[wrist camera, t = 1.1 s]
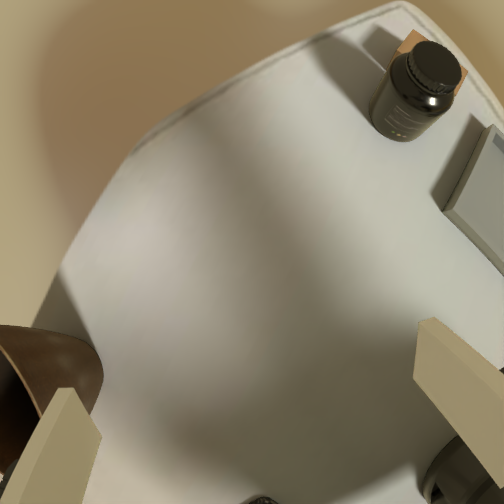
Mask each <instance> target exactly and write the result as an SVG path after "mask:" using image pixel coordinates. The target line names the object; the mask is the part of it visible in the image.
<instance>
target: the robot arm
mask: <svg viewBox="0 0 504 504" xmlns="http://www.w3.org/2000/svg"><path fill="white" fill-rule="evenodd" d="M413 379H414V380H415V382H416V383H417V384H418V385H419V386H420V388H421V389H422V390H423V391H424V392H425V394H426V395H427V396H428V397H429V399H430V400H431V401H432V402H433V403H434V405H435V406H436V407H437V408H438V410H439V411H440V412H441V413H442V414H443V416H444V417H445V418H446V419H447V421H448V422H449V423H450V424H451V426H452V427H453V428H454V429H455V431H456V432H457V433H458V434H459V435H458V436H457V437H456V438H455V439H453V440H452V441H451V442H450V443H449V444H448V445H447V446H446V447H445V448H444V449H443V450H442V451H441V453H440V454H439V455H438V456H437V457H436V459H435V460H434V462H433V463H432V465H431V466H430V468H429V470H428V472H427V474H426V476H425V479H424V482H423V495H424V498H425V499H426V501H427V503H428V504H504V367H503V368H502V369H500V370H498V369H497V368H496V367H495V366H493V365H492V364H491V363H490V362H489V361H488V360H486V359H485V358H484V357H483V356H482V355H481V354H479V353H478V352H477V351H476V350H475V349H473V348H472V347H471V346H470V345H469V344H467V343H466V342H465V341H464V340H463V339H461V338H460V337H459V336H458V335H456V334H455V333H454V332H453V331H451V330H450V329H449V328H448V327H447V326H445V325H444V324H443V323H442V322H440V321H439V320H438V319H436V318H435V317H432V318H430V319H427V320H424V321H421V322H419V323H418V336H417V346H416V356H415V364H414V372H413ZM101 439H102V436H101V434H100V432H99V431H98V429H97V428H96V426H95V424H94V423H93V421H92V419H91V418H90V416H89V414H88V413H87V411H86V409H85V407H84V406H83V404H82V402H81V400H80V399H79V397H78V395H77V393H76V391H75V389H74V388H58V389H57V391H56V393H55V395H54V396H53V398H52V400H51V402H50V403H49V405H48V407H47V409H46V410H45V412H44V414H43V416H42V417H41V419H40V421H39V423H38V425H37V427H36V428H35V430H34V432H33V434H32V436H31V438H30V440H29V442H28V443H27V445H26V447H25V449H24V451H23V453H22V455H21V457H20V459H16V460H15V461H14V462H13V463H12V464H11V465H10V466H9V467H8V468H7V470H6V472H5V474H4V476H3V478H2V479H3V481H2V480H1V482H0V504H82V501H83V497H84V494H85V490H86V487H87V484H88V480H89V477H90V474H91V470H92V467H93V464H94V461H95V458H96V454H97V451H98V448H99V445H100V442H101Z"/></svg>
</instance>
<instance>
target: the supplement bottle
mask: <svg viewBox="0 0 504 504" xmlns="http://www.w3.org/2000/svg"><path fill="white" fill-rule="evenodd" d="M461 78H462V71H461V67H460V64H459V62H458V60H457V59H456V58H455V56H454V55H453V54H452V53H451V52H450V51H449V50H448V49H447V48H445V47H443V46H442V45H440V44H438V43H436V42H433V41H428V40H427V41H422V42H421V41H420V42H419V43H416V45H415V46H414V47H413V48H412V50H411V51H410V52H405V53H402V54H400V55H398V56H396V57H395V58H394V59H393V60H392V62H391V63H390V65H389V67H388V69H387V70H386V72H385V74H384V76H383V78H382V79H381V81H380V83H379V85H378V87H377V88H376V90H375V92H374V94H373V96H372V98H371V100H370V103H369V114H370V118H371V120H372V122H373V124H374V126H375V127H376V128H377V130H378V131H379V132H380V133H382V134H383V135H384V136H386V137H387V138H389V139H391V140H394V141H397V142H409V141H412V140H414V139H416V138H417V137H419V136H420V135H421V134H422V133H423V132H424V131H426V130H427V129H428V128H429V127H430V126H431V125H432V124H433V123H435V122H436V121H437V120H438V119H439V118H440V117H441V116H442V115H443V114H445V113H446V112H447V111H448V110H449V109H450V107H451V106H452V104H453V101H454V96H455V91H454V90H455V88H456V86H457V85H458V84H459V82H460V81H461Z"/></svg>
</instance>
